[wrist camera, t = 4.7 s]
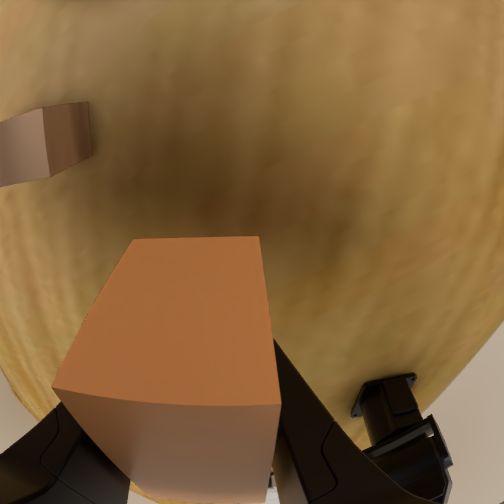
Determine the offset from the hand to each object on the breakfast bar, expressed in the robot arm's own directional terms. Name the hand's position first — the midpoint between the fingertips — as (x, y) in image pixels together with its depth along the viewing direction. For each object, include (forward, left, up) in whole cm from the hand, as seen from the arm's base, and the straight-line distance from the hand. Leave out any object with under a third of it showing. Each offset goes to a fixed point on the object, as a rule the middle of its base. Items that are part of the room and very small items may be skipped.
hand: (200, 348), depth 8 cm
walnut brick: (+6, +11, -11) cm, 16 cm away
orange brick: (0, 0, -1) cm, 1 cm away
